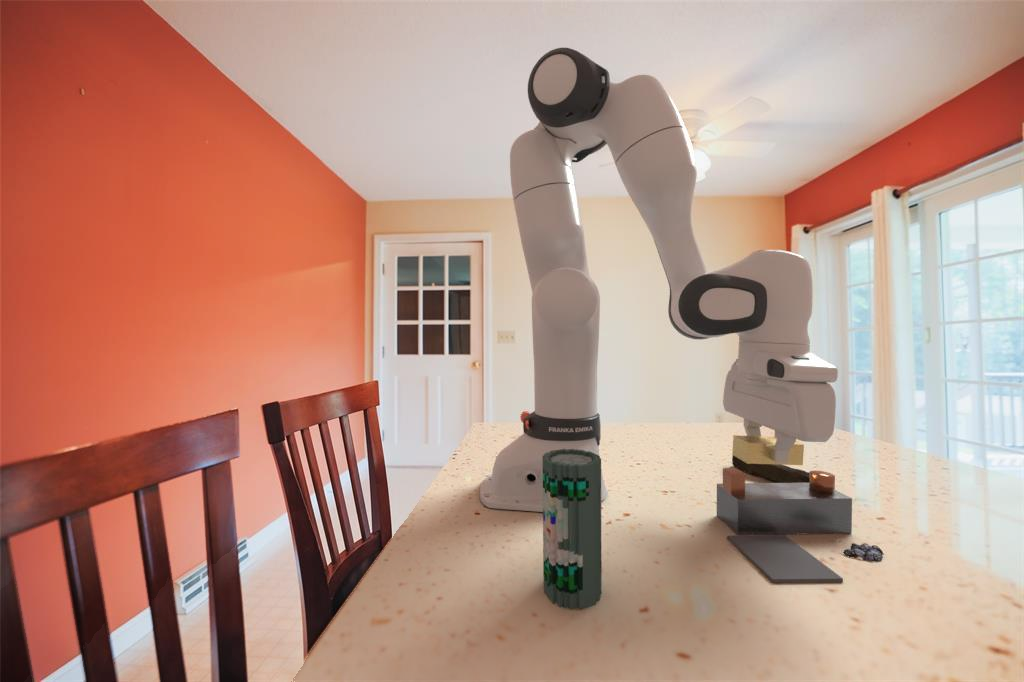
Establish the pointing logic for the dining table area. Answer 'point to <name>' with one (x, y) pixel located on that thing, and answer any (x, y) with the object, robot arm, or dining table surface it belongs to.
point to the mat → (783, 559)
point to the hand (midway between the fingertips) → (766, 455)
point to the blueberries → (865, 552)
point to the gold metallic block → (763, 450)
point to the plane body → (783, 505)
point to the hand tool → (773, 471)
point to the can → (572, 528)
